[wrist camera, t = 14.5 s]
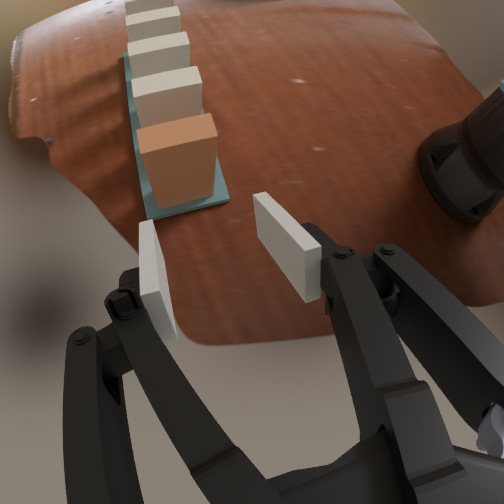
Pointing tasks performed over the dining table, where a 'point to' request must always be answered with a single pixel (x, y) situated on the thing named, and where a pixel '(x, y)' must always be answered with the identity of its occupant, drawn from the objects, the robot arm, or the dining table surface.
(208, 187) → the terracotta domino
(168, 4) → the domino
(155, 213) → the domino board
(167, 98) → the domino
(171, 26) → the domino
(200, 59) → the dining table surface
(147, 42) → the domino
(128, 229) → the dining table surface
